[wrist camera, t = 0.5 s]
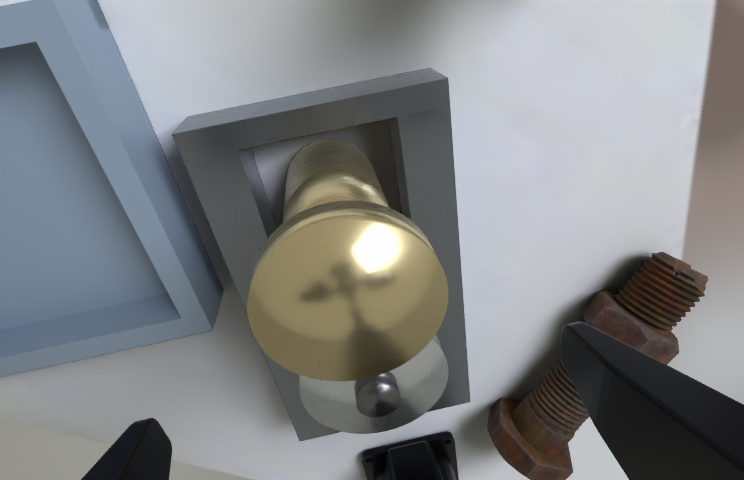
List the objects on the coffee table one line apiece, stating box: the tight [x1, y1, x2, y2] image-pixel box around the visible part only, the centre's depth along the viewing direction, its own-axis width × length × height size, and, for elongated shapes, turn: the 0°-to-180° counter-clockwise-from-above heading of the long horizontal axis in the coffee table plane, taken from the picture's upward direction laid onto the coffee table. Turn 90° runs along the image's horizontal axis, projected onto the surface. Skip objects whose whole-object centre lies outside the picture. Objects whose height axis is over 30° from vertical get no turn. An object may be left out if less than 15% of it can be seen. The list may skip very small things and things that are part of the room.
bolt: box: [488, 252, 708, 480], centre depth 25 cm, size 6×5×15 cm
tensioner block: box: [172, 68, 470, 441], centre depth 20 cm, size 18×10×6 cm, turn 10°
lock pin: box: [247, 138, 448, 381], centre depth 15 cm, size 5×5×9 cm
